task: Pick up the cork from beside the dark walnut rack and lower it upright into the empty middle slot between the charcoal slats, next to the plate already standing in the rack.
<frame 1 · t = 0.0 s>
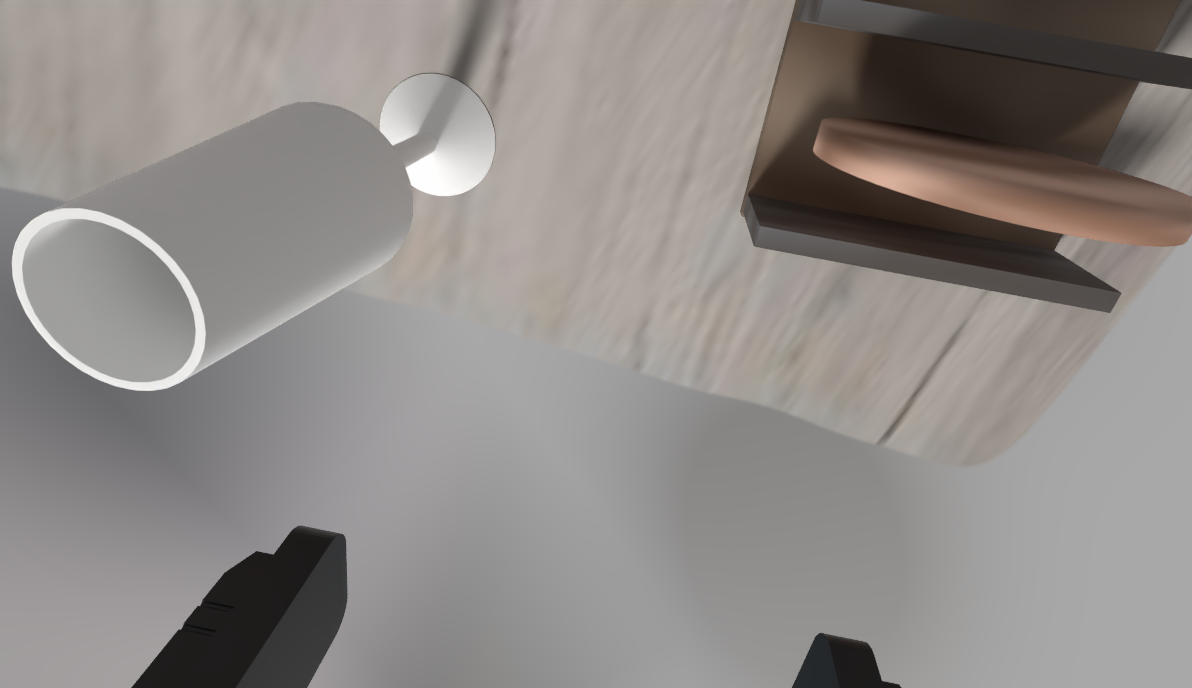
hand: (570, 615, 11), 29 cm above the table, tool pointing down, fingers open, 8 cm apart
champagne flute: (438, 136, 37), on the table
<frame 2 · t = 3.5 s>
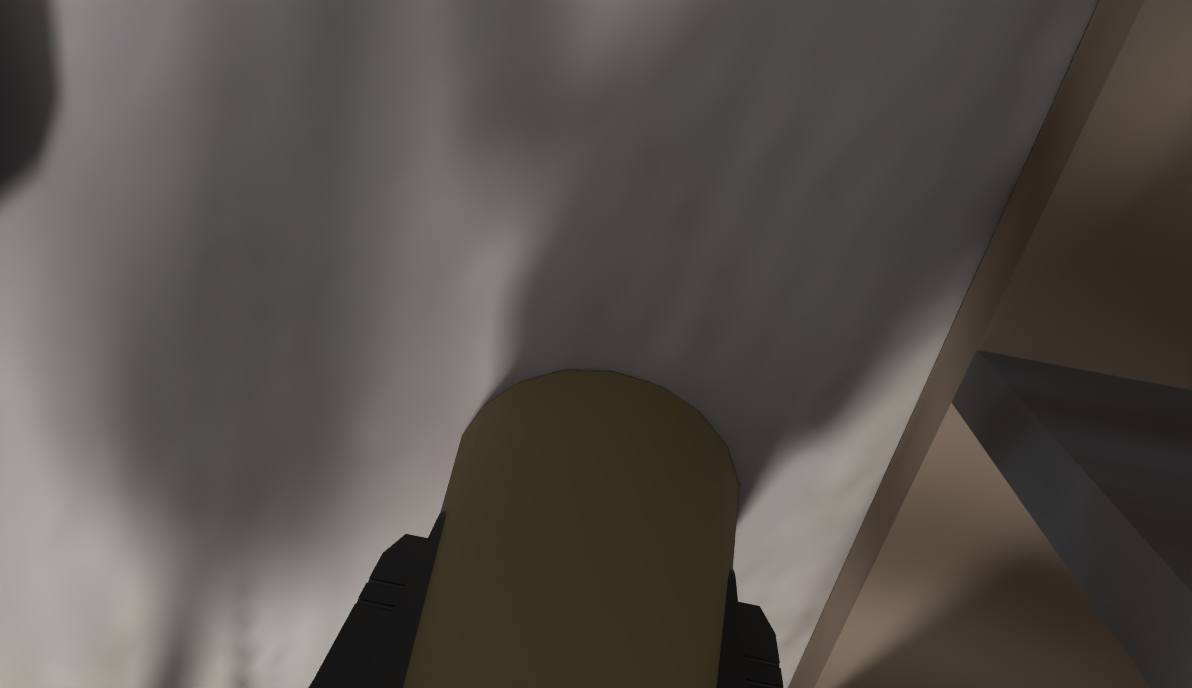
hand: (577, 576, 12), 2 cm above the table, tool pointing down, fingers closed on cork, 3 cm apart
cork: (594, 488, 14), on the table, touching gripper
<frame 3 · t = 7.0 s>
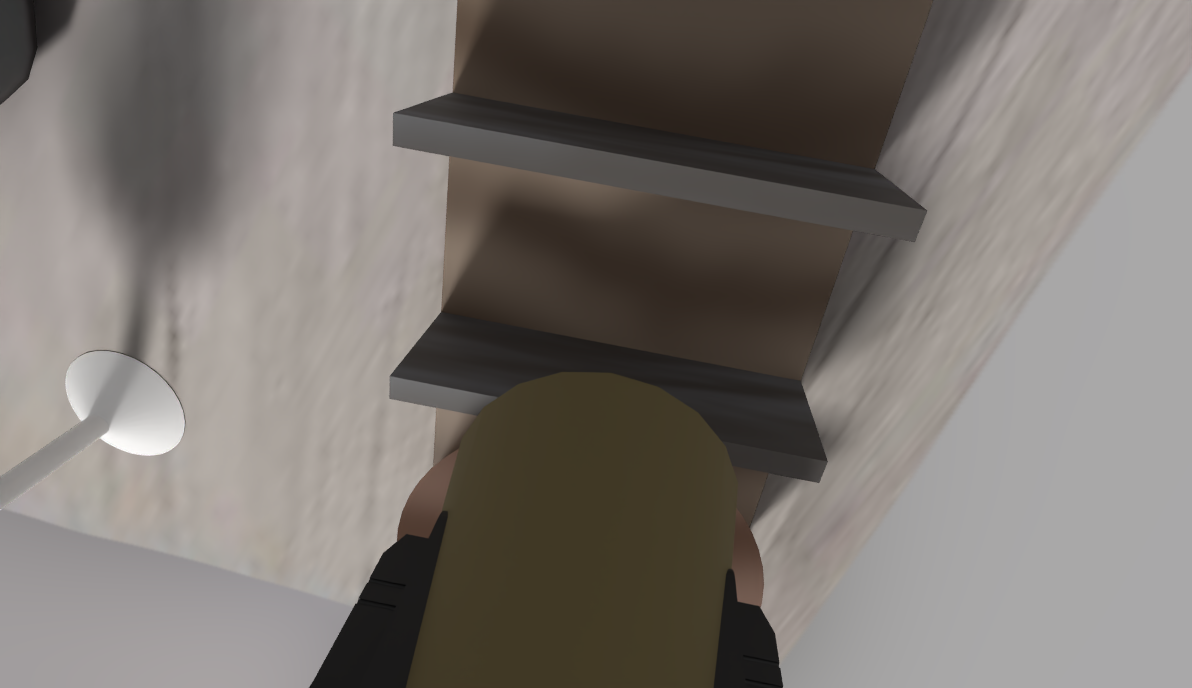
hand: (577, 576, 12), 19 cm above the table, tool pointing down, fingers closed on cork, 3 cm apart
rack: (638, 250, 29), on the table
cork: (594, 489, 14), point 16 cm above the table, touching gripper
champagne flute: (128, 403, 36), on the table
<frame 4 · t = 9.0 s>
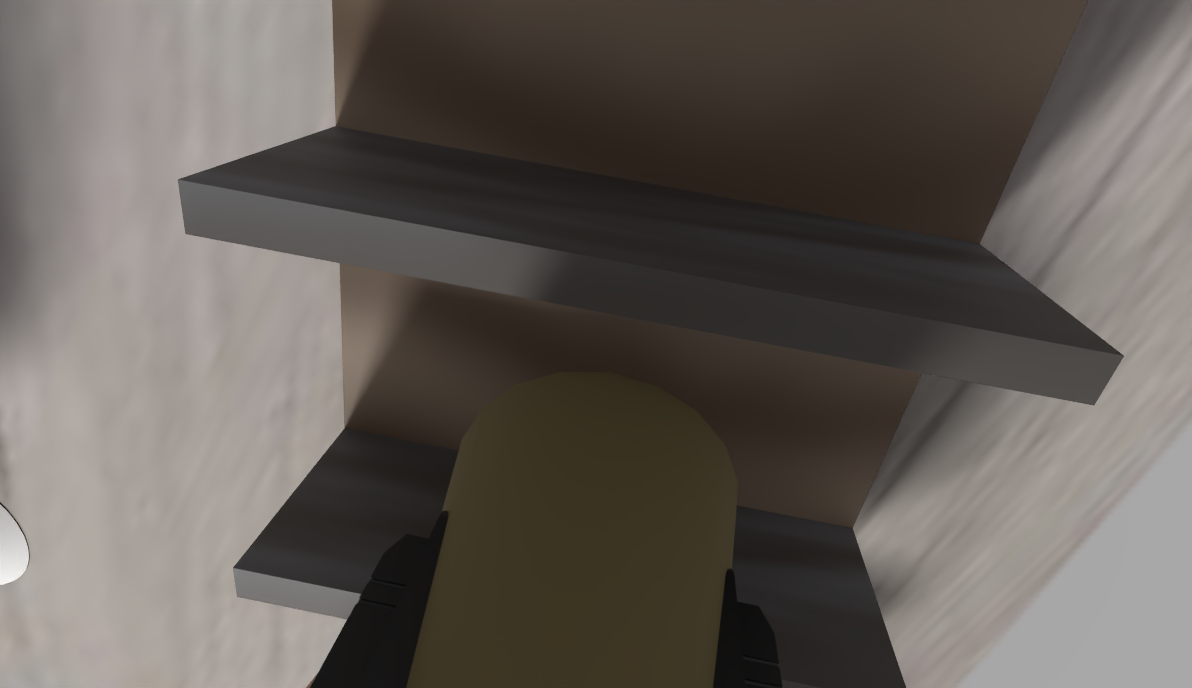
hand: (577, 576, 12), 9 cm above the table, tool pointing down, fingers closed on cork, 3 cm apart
rack: (620, 347, 20), on the table
cork: (594, 488, 14), point 7 cm above the table, touching gripper
when the fingers open (5 cm above the table, at t = 10.5 s): cork drops 1 cm, resting on rack.
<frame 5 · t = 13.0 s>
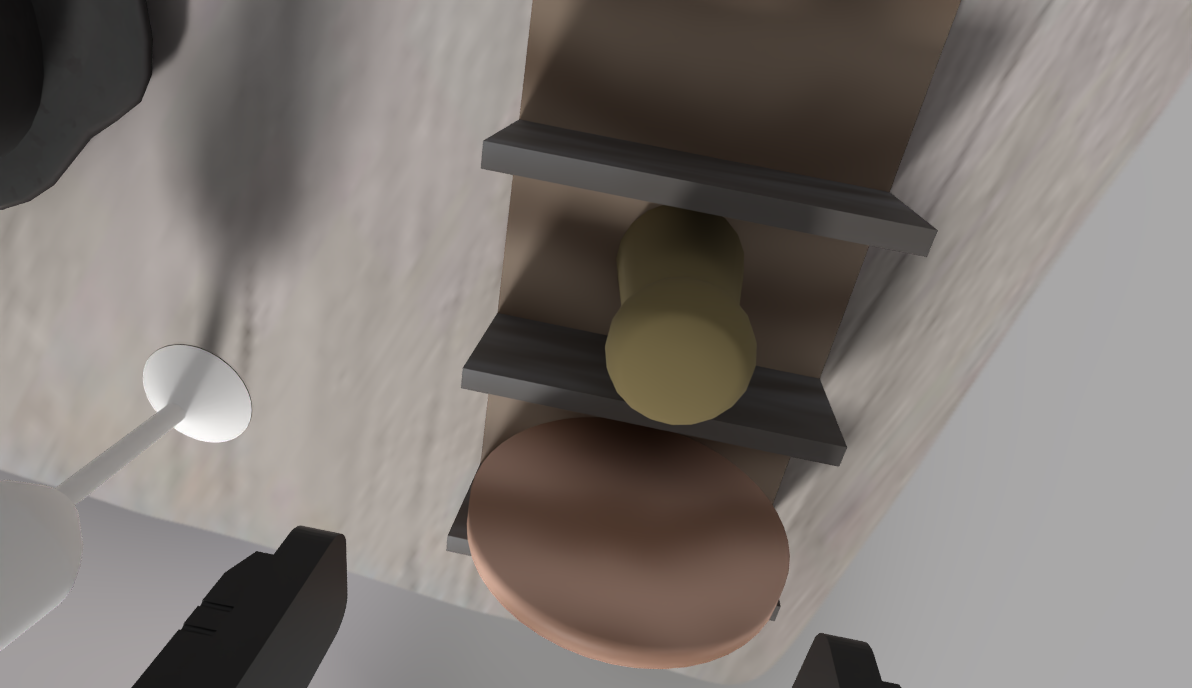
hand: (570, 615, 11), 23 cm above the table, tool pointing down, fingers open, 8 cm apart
rack: (676, 260, 32), on the table
cork: (679, 263, 31), point 1 cm above the table, touching rack
champagne flute: (199, 393, 39), on the table
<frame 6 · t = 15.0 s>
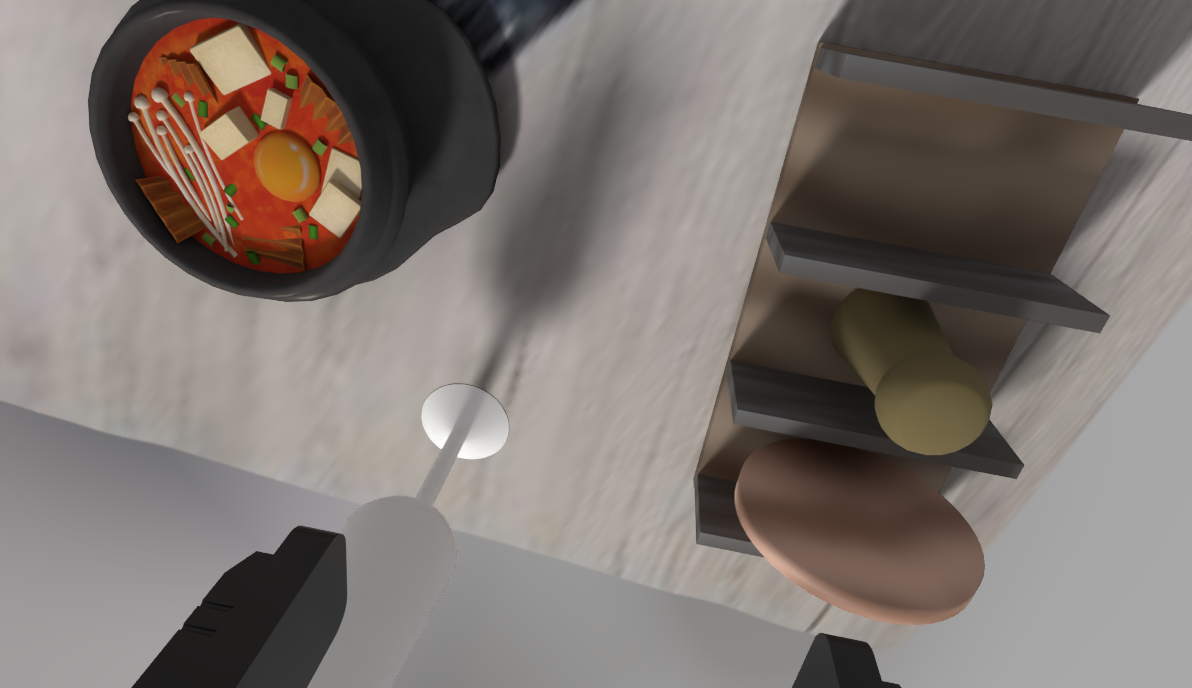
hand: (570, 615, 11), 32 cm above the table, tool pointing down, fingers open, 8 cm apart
rack: (873, 320, 42), on the table
casserole: (313, 135, 41), on the table
cork: (879, 324, 41), point 1 cm above the table, touching rack
champagne flute: (465, 421, 49), on the table
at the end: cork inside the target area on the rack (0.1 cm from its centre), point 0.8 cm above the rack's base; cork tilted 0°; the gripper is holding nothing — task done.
